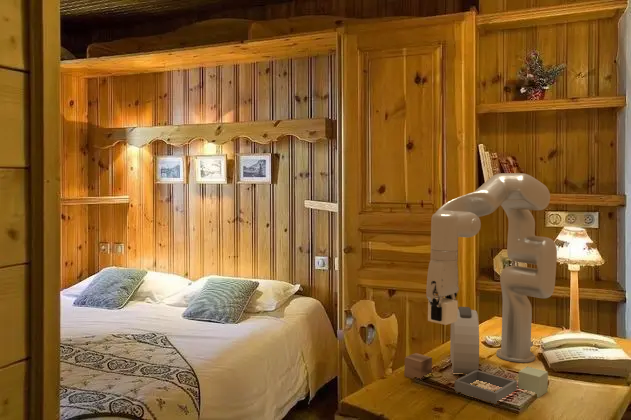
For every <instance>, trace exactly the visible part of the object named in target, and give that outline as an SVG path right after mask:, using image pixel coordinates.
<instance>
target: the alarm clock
mask: <svg viewBox="0 0 631 420" xmlns="http://www.w3.org/2000/svg"><path fill="white" fill-rule="evenodd" d="M479 324H480V323H479V315H478V312H477V310H476V309H471V307H469V306H458V313H457V321H456V322H453V323H450V341H449V342H450V349H449V350H450V364H451V363H452V366H451V371H452V370H453V373H464V374H469V373H471V372H473V371H475V370H479V366H480V365H479V364H480V325H479ZM453 373H452V374H453Z"/></svg>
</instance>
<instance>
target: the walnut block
mask: <svg viewBox="0 0 631 420" xmlns="http://www.w3.org/2000/svg"><path fill="white" fill-rule="evenodd" d="M429 373H433V357H431V356H428V355H424V354H421V353H418V352H415V353H412V354H409V355H407V356H404V377H406V378H410V379H413V378H414V377H417V378H420V379H421V378H422V377H423V376H424V375H427V374H429ZM413 380H414V379H413Z"/></svg>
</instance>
